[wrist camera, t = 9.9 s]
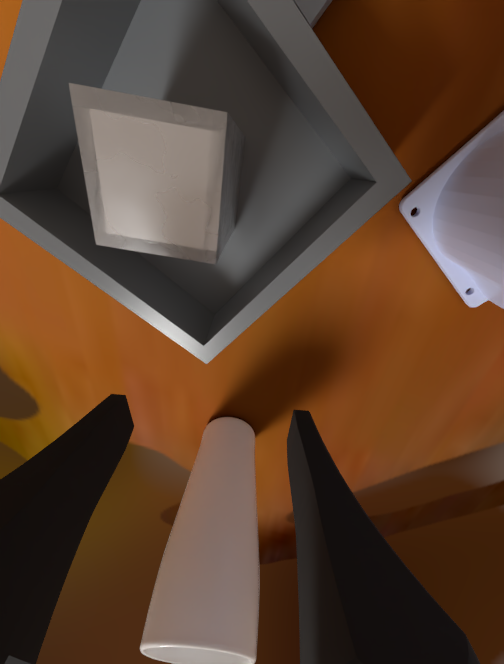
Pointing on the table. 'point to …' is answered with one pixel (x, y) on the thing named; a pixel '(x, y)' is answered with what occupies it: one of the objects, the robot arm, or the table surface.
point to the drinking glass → (211, 559)
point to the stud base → (312, 9)
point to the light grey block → (158, 173)
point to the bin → (207, 92)
